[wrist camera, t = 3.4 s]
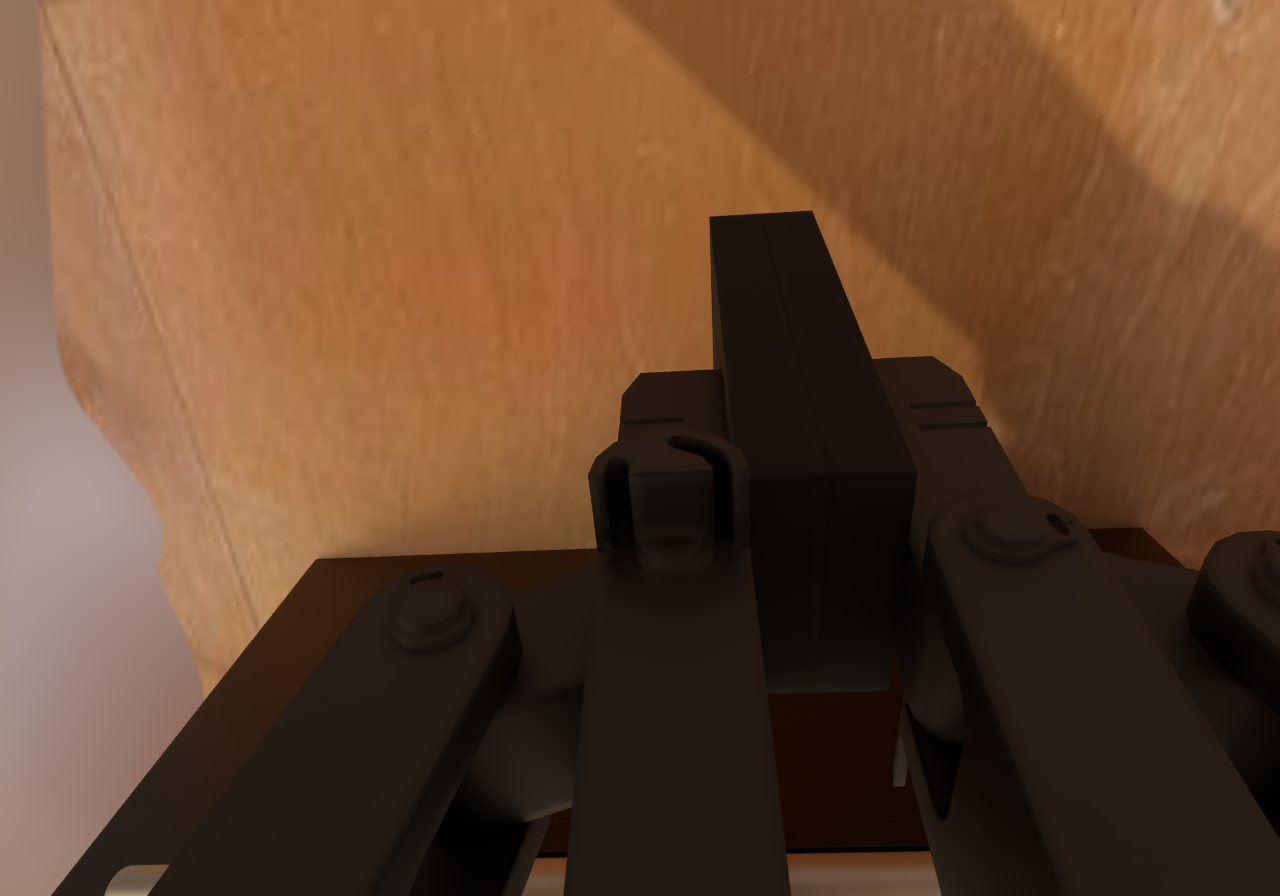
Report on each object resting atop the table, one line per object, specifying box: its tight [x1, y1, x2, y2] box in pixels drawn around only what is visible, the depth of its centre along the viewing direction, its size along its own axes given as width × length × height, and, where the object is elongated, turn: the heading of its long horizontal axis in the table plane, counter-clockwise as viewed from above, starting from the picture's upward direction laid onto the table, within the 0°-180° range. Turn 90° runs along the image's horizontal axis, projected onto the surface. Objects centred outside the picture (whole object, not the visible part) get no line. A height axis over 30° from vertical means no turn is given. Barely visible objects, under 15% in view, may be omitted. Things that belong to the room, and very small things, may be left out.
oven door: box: [51, 528, 1185, 896], centre depth 30 cm, size 5×40×26 cm, turn 94°
